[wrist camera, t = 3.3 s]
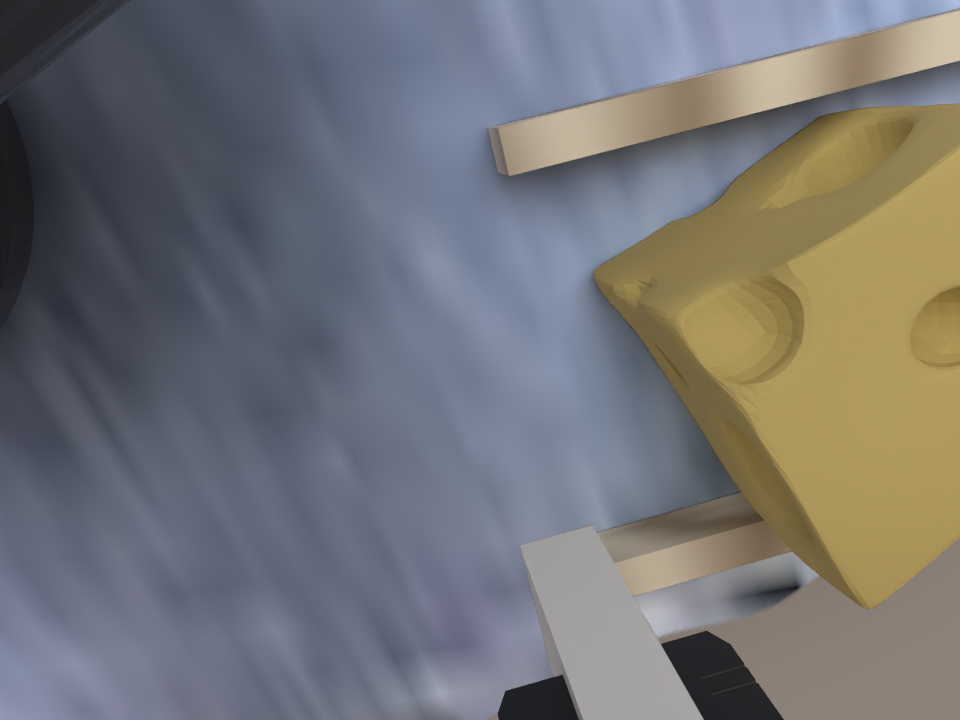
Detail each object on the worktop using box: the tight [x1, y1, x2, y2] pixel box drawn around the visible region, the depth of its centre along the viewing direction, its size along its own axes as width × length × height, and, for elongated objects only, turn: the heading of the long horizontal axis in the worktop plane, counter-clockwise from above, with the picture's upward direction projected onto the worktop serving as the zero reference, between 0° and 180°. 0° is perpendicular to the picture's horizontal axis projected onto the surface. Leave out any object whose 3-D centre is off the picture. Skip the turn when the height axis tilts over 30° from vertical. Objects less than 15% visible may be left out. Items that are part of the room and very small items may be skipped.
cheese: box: [594, 104, 960, 609], centre depth 28 cm, size 10×11×10 cm
